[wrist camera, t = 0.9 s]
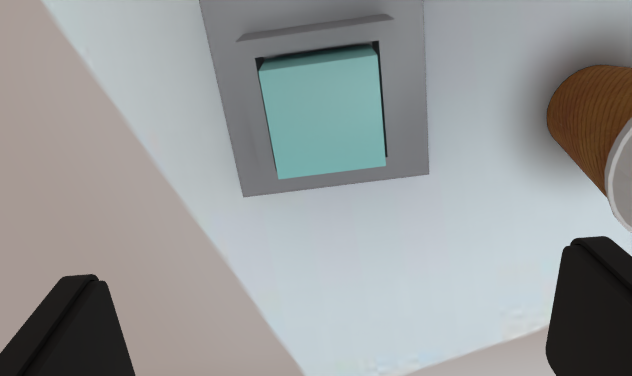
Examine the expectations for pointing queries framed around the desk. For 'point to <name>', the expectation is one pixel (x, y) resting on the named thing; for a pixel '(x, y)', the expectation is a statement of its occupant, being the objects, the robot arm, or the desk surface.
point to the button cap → (324, 111)
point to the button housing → (312, 36)
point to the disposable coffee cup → (598, 130)
